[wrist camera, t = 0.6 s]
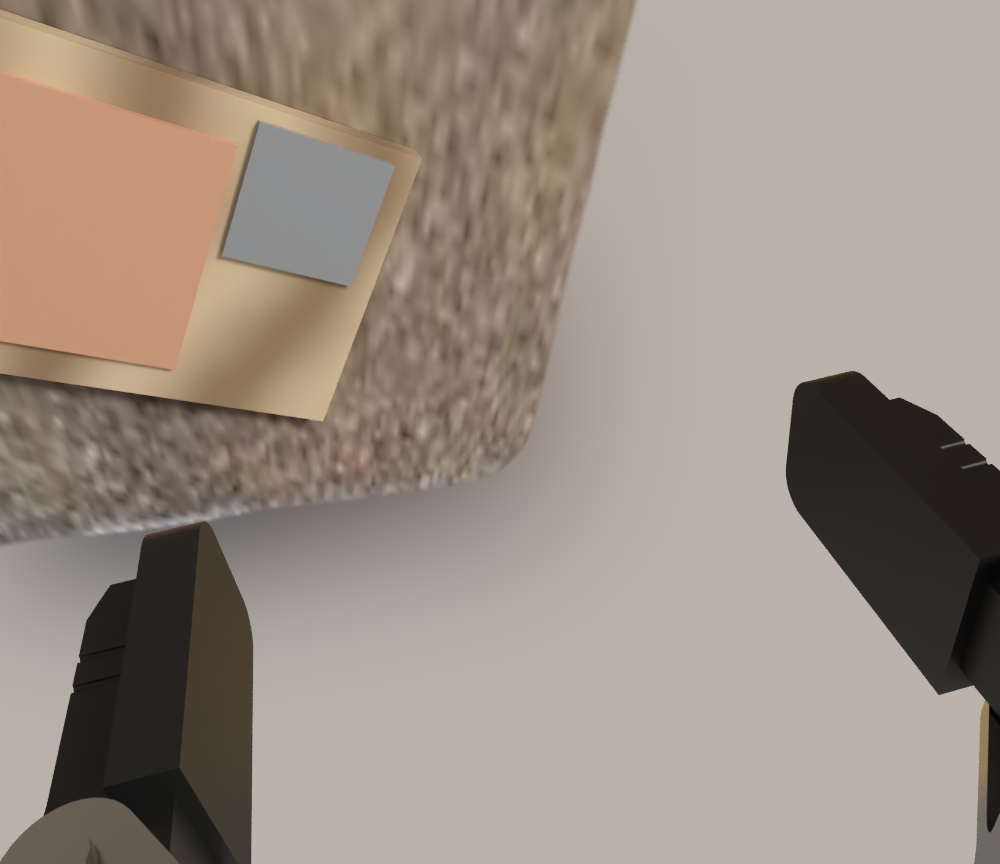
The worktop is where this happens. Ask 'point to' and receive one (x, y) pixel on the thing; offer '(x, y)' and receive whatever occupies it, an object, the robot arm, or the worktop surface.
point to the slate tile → (305, 205)
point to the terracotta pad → (102, 224)
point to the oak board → (217, 243)
